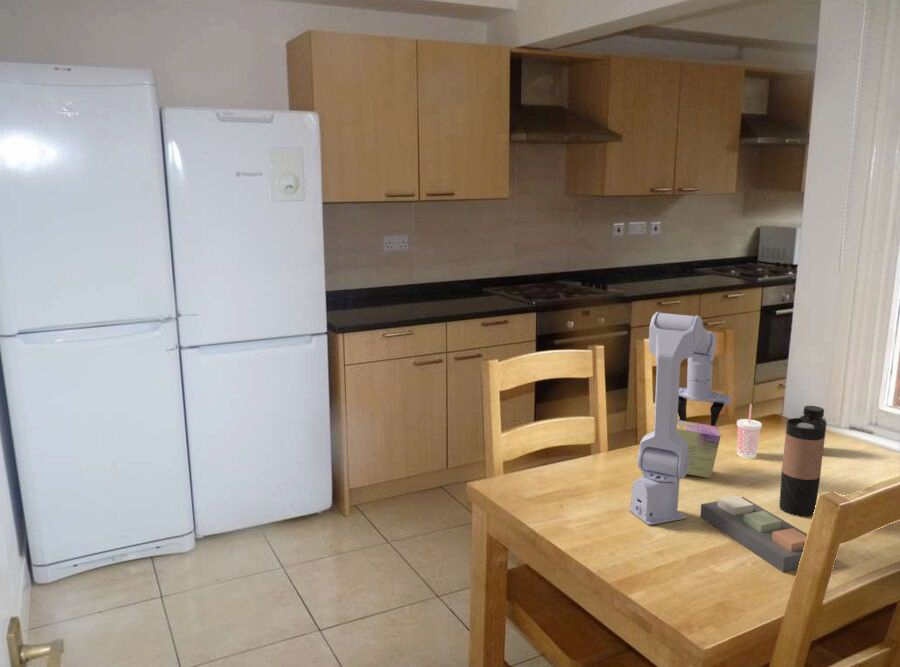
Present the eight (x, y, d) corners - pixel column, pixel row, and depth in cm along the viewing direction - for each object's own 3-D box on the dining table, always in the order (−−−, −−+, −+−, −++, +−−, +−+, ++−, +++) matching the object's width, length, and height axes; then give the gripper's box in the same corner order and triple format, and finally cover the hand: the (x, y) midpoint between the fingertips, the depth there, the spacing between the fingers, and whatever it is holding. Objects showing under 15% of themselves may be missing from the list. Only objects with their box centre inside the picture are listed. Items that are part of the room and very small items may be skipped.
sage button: (760, 534, 146) (761, 525, 145) (743, 523, 150) (743, 514, 150) (780, 530, 147) (781, 521, 147) (762, 519, 152) (763, 510, 152)
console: (782, 572, 137) (784, 557, 136) (700, 516, 159) (701, 504, 158) (828, 562, 140) (830, 547, 140) (741, 509, 162) (743, 496, 162)
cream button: (733, 517, 153) (733, 508, 153) (717, 507, 158) (717, 498, 157) (752, 513, 155) (753, 504, 154) (736, 503, 159) (737, 495, 159)
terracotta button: (790, 553, 138) (791, 543, 138) (771, 541, 143) (772, 531, 143) (811, 549, 140) (812, 539, 140) (791, 537, 145) (792, 527, 144)
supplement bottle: (797, 453, 195) (801, 410, 192) (793, 445, 201) (797, 403, 198) (825, 456, 193) (830, 413, 190) (820, 447, 199) (825, 405, 196)
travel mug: (794, 519, 158) (803, 430, 153) (770, 504, 165) (778, 419, 161) (824, 514, 160) (834, 427, 155) (799, 500, 167) (808, 416, 163)
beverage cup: (730, 455, 194) (734, 404, 191) (740, 449, 198) (744, 399, 195) (752, 461, 190) (757, 409, 187) (762, 455, 194) (767, 404, 191)
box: (707, 467, 184) (717, 425, 180) (711, 479, 179) (721, 435, 175) (665, 460, 186) (674, 418, 182) (667, 471, 180) (676, 428, 176)
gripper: (734, 374, 179) (731, 424, 184) (674, 366, 186) (673, 414, 191) (727, 386, 173) (725, 437, 178) (666, 377, 181) (665, 426, 186)
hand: (698, 426), depth 184 cm, fingers open, 7 cm apart
